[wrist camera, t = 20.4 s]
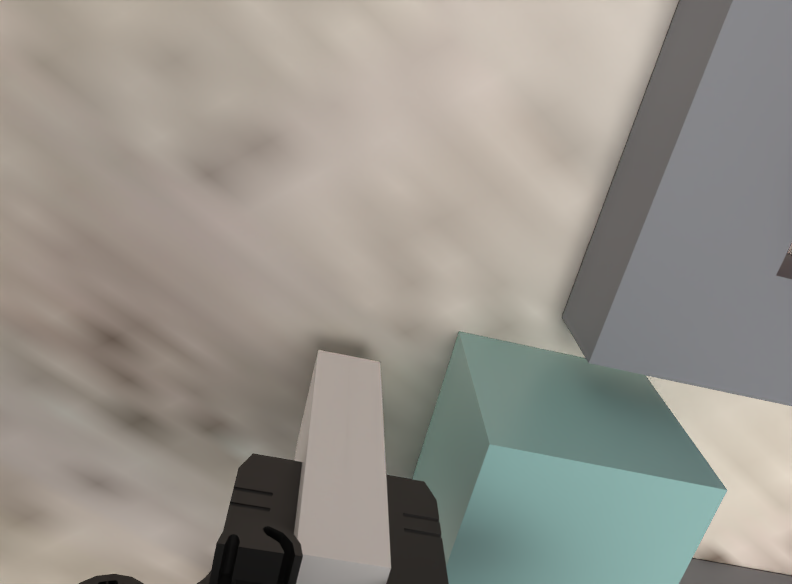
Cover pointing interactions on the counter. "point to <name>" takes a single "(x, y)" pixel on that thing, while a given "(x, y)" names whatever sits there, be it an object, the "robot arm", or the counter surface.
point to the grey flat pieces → (702, 222)
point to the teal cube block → (561, 471)
